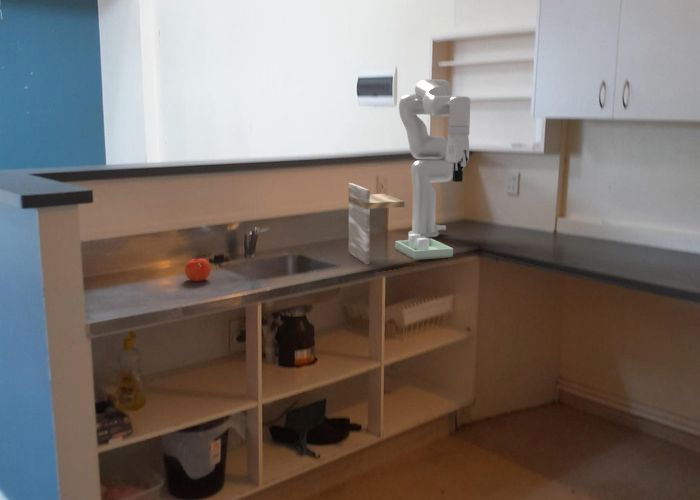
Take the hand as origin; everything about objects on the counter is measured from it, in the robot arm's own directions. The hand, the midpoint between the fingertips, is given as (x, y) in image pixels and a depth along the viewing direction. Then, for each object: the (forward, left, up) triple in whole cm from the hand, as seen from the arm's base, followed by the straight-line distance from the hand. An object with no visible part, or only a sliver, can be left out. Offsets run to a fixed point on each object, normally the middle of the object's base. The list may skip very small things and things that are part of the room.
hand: (457, 181), depth 263 cm
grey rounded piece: (+15, -4, -26) cm, 30 cm away
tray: (+13, 0, -26) cm, 29 cm away
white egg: (+15, +4, -26) cm, 30 cm away
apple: (+97, +14, -27) cm, 102 cm away
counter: (+32, 0, -26) cm, 42 cm away
